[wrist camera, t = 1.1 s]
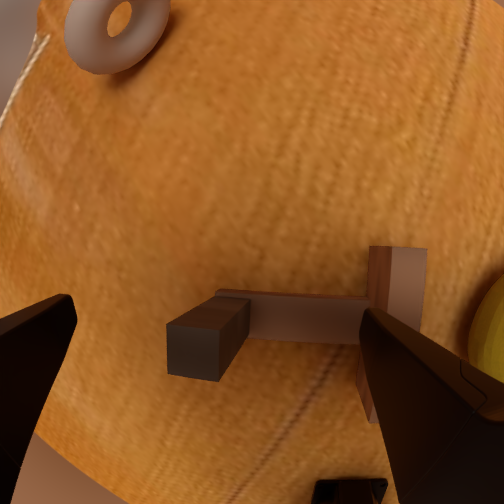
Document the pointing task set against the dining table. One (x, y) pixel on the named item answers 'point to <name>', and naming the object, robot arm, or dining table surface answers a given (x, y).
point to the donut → (121, 46)
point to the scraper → (296, 318)
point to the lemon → (489, 333)
